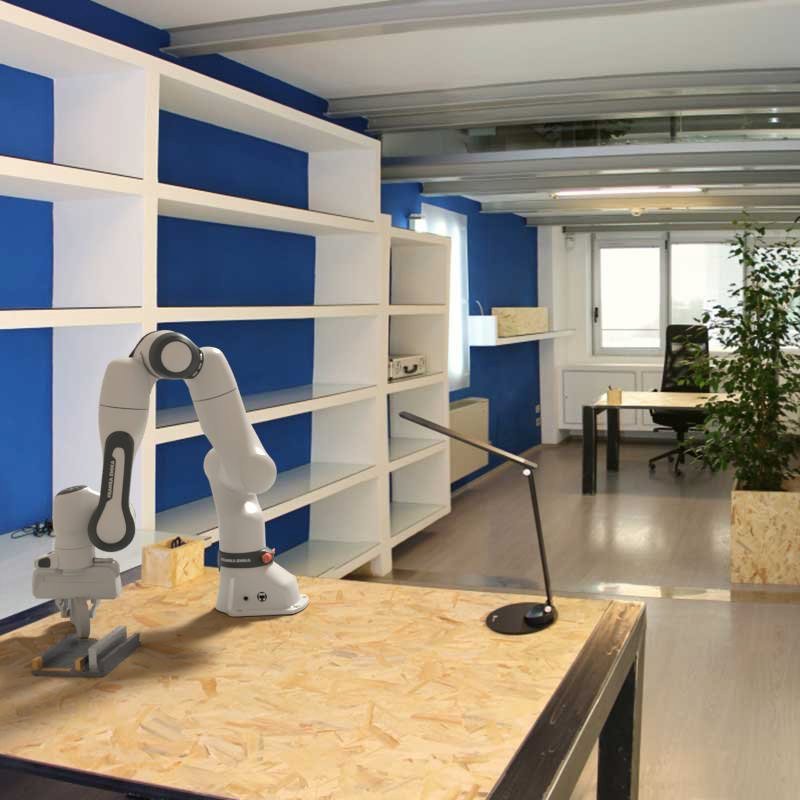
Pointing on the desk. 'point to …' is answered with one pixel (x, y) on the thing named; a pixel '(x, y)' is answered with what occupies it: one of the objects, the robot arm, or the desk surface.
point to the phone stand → (86, 655)
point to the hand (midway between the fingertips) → (78, 617)
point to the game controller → (80, 616)
